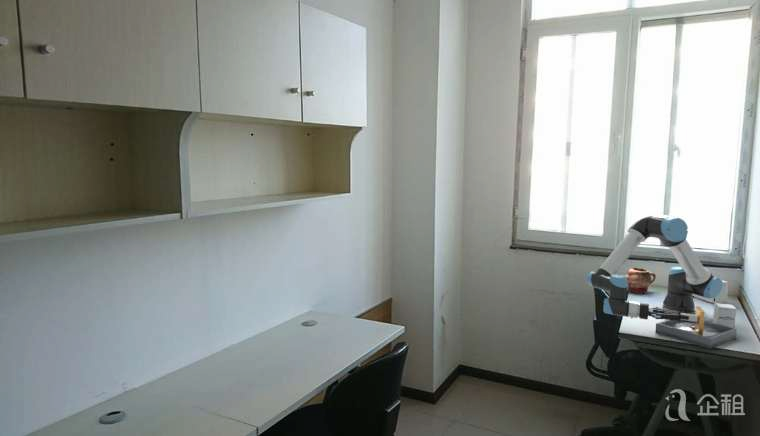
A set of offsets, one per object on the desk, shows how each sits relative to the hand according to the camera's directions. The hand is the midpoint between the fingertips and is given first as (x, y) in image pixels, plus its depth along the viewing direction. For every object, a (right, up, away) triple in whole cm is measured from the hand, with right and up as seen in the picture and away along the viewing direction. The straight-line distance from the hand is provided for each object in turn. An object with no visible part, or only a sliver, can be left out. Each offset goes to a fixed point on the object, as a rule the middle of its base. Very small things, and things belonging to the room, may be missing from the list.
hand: (697, 318), depth 232 cm
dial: (+3, -8, +6) cm, 10 cm away
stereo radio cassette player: (+46, -2, +66) cm, 80 cm away
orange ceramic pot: (+15, 0, +81) cm, 83 cm away
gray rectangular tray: (+3, -9, +7) cm, 12 cm away
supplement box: (+20, -9, +13) cm, 26 cm away
